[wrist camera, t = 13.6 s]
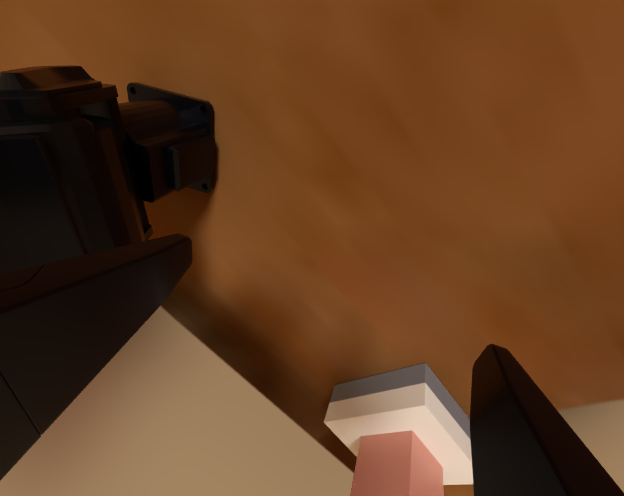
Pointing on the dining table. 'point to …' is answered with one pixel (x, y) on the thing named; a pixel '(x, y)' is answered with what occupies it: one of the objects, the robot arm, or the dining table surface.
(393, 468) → the top brick
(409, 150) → the dining table surface
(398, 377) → the base block
